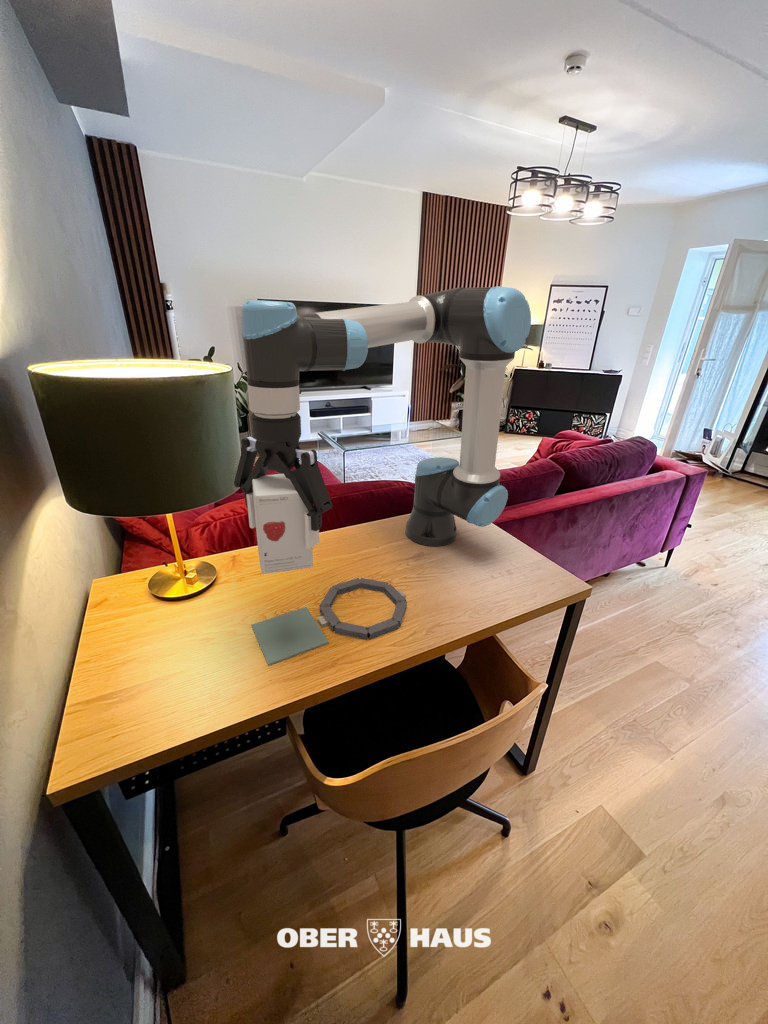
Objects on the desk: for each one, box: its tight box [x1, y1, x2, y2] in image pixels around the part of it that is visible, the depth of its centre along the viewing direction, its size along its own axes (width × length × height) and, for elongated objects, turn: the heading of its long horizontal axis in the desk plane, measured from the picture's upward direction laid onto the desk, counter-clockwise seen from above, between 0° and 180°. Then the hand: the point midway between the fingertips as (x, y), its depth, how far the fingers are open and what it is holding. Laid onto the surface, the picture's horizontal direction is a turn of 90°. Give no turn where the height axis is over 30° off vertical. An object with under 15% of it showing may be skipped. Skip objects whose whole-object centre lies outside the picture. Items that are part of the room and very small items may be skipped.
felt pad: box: [250, 606, 330, 667], centre depth 82 cm, size 12×12×1 cm
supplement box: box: [252, 473, 314, 575], centre depth 71 cm, size 9×9×15 cm
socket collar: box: [316, 577, 408, 641], centre depth 90 cm, size 21×18×2 cm
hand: (283, 534), depth 73 cm, fingers closed on supplement box, 12 cm apart
